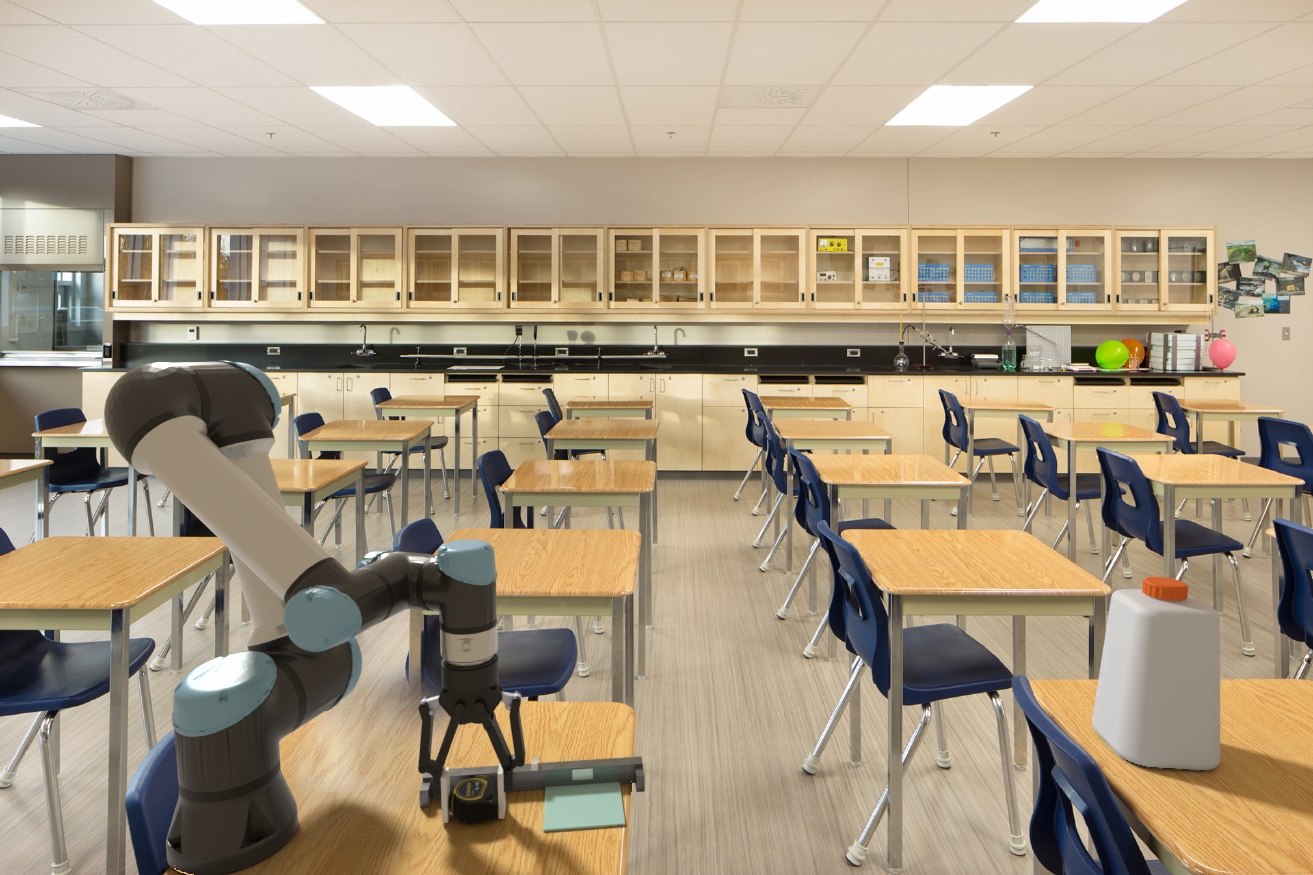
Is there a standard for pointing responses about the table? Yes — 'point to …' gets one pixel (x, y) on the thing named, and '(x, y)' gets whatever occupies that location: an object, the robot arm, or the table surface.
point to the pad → (583, 806)
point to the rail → (550, 775)
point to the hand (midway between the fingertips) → (474, 814)
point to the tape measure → (475, 800)
